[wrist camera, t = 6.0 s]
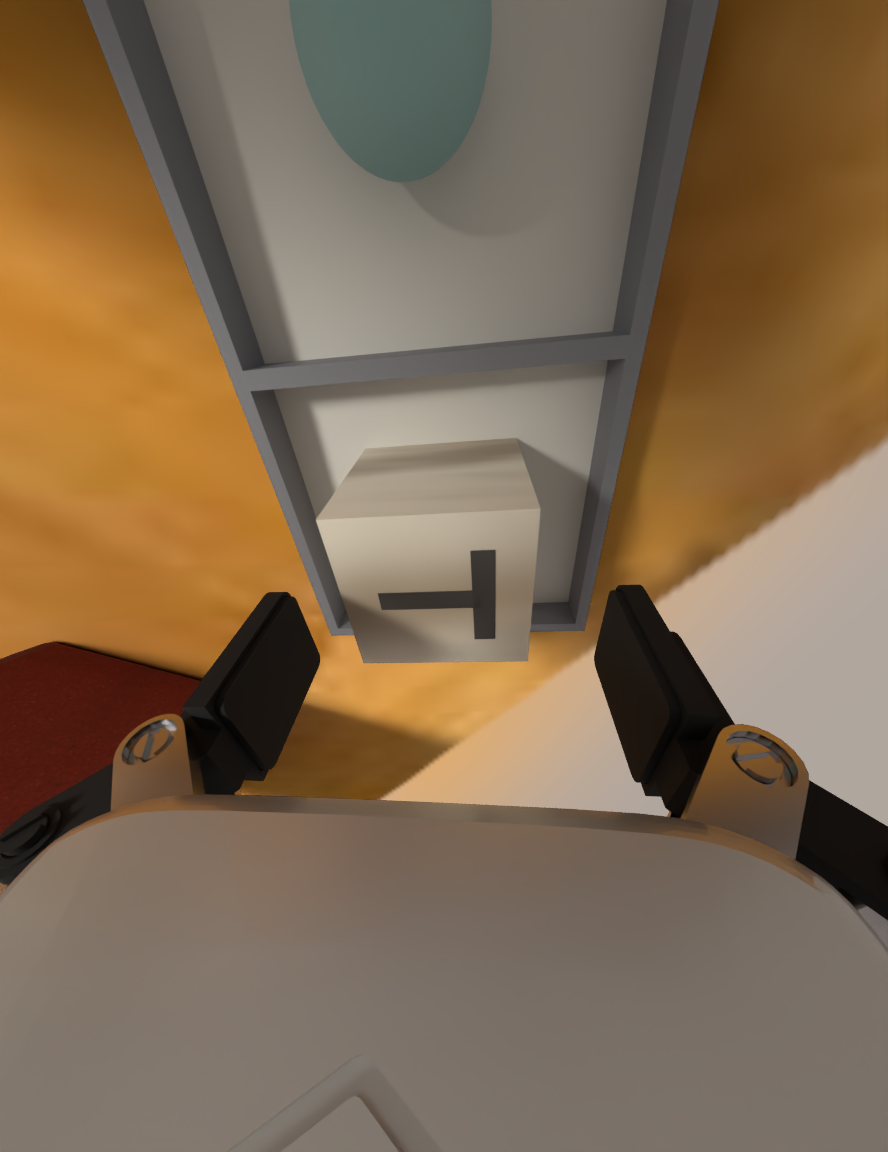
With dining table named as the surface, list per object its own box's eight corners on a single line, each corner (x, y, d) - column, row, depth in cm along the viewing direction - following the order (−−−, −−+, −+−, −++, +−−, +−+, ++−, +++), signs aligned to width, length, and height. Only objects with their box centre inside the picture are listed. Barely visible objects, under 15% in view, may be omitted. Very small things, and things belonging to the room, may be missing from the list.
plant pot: (-38, 582, 21) (-912, 1071, 8) (290, 673, 25) (80, 1113, 11) (48, 735, 32) (-251, 1044, 19) (266, 782, 36) (145, 1070, 22)
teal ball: (304, -48, 8) (196, -278, 5) (486, -85, 8) (499, -362, 4) (348, 208, 10) (295, 167, 7) (488, 189, 10) (497, 137, 7)
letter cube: (365, 448, 15) (315, 520, 10) (516, 438, 14) (541, 509, 9) (391, 568, 18) (363, 663, 13) (512, 563, 18) (528, 661, 13)
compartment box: (-12, -414, 6) (-175, -656, 5) (806, -684, 5) (962, -1142, 3) (341, 609, 21) (331, 635, 19) (574, 603, 19) (584, 630, 18)
